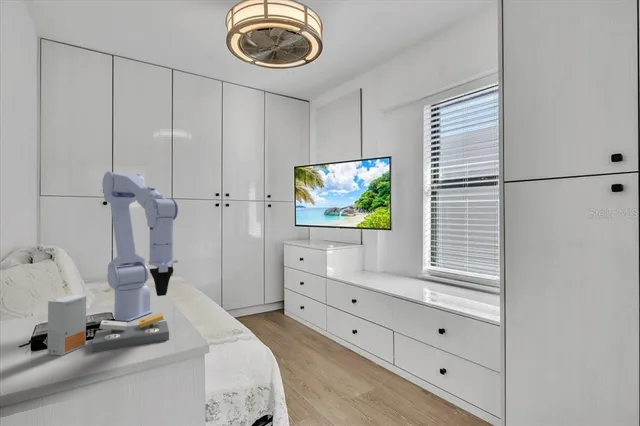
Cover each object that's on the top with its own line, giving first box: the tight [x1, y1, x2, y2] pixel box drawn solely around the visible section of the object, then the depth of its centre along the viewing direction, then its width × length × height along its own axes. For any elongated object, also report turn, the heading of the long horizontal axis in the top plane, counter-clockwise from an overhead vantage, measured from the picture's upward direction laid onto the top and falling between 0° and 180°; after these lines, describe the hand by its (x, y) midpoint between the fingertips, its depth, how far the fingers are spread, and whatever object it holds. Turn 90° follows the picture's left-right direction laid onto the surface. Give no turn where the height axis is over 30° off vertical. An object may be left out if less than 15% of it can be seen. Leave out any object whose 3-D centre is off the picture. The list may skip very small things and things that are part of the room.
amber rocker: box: [138, 312, 164, 328], centre depth 87 cm, size 6×3×1 cm, turn 118°
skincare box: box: [47, 294, 87, 356], centre depth 76 cm, size 6×4×12 cm
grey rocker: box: [99, 319, 128, 330], centre depth 83 cm, size 6×3×1 cm, turn 119°
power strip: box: [91, 320, 170, 353], centre depth 83 cm, size 16×9×3 cm, turn 119°
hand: (161, 295), depth 88 cm, fingers closed
